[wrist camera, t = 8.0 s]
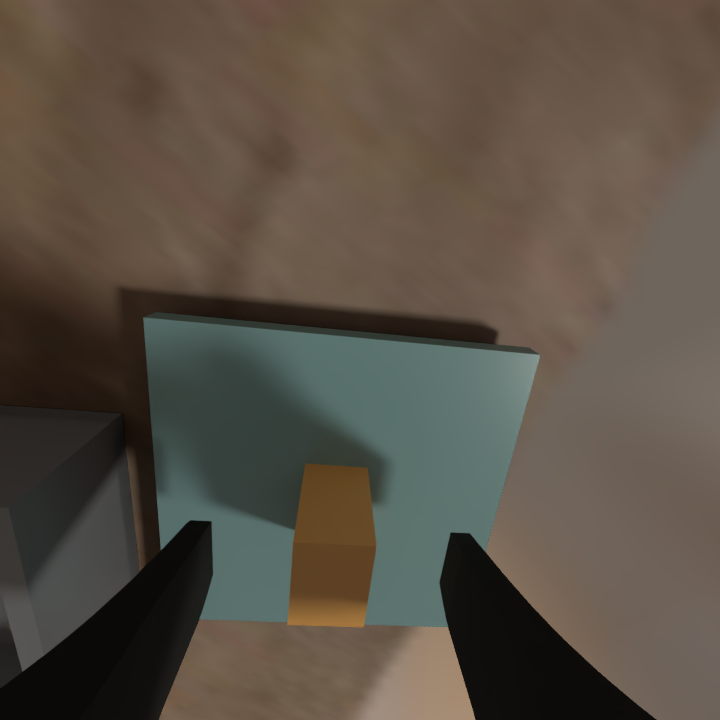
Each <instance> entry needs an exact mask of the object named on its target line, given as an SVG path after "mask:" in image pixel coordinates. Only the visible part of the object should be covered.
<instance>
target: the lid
mask: <svg viewBox="0 0 720 720" xmlns="http://www.w3.org/2000/svg"><path fill="white" fill-rule="evenodd" d="M143 321H144V334H145V348H146V361H147V374H148V387H149V400H150V414H151V427H152V440H153V453H154V466H155V480H156V493H157V506H158V519H159V532H160V546H161V550H162V549H163V548H164V547H165V546H166V544H167V543H168V542H169V541H170V540H171V539H172V538H173V537H174V536H175V535H176V534H177V533H178V532H179V531H180V530H181V529H182V527H183V526H184V525H185V524H186V523H187V522H189V521H190V520H197V521H212V552H213V577H212V580H211V584H210V587H209V591H208V594H207V597H206V601H205V604H204V607H203V611H202V614H201V616H200V619H207V620H238V621H270V622H288V625H308V626H340V627H364V625H396V626H427V627H448V624H447V621H446V616H445V611H444V606H443V601H442V595H441V590H440V584H439V581H440V577H441V573H442V568H443V564H444V559H445V555H446V550H447V546H448V542H449V537H450V533H451V532H454V533H470V534H471V535H472V536H473V538H474V539H475V540H476V541H477V542H478V544H479V545H480V546H481V547H482V549H483V550H484V551H485V552H486V548H487V545H488V541H489V537H490V534H491V530H492V527H493V523H494V519H495V516H496V512H497V509H498V505H499V501H500V498H501V494H502V491H503V487H504V484H505V480H506V476H507V473H508V469H509V466H510V462H511V458H512V455H513V451H514V448H515V444H516V440H517V437H518V433H519V430H520V426H521V422H522V419H523V415H524V412H525V408H526V404H527V401H528V397H529V394H530V390H531V387H532V383H533V379H534V376H535V372H536V369H537V365H538V361H539V358H540V354H538V353H536V352H535V351H533V350H532V349H530V348H527V347H516V346H506V345H496V344H485V343H475V342H464V341H454V340H443V339H433V338H422V337H412V336H401V335H391V334H380V333H370V332H360V331H349V330H339V329H328V328H318V327H307V326H297V325H286V324H276V323H265V322H255V321H245V320H234V319H224V318H213V317H203V316H192V315H182V314H171V313H161V312H155V313H152V314H150V315H148V316H145V317H143Z"/></svg>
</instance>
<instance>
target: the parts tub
mask: <svg viewBox="0 0 720 720" xmlns="http://www.w3.org/2000/svg"><path fill="white" fill-rule="evenodd" d="M139 572H140V571H139V562H138V553H137V544H136V535H135V526H134V517H133V508H132V499H131V490H130V481H129V472H128V463H127V454H126V445H125V436H124V427H123V418H122V413H109V412H94V411H79V410H64V409H50V408H35V407H20V406H5V405H0V688H1V687H2V686H4V685H5V684H7V683H8V682H9V681H11V680H12V679H13V678H15V677H16V676H17V675H19V674H20V673H21V672H23V671H24V670H25V669H27V668H28V667H29V666H31V665H32V664H33V663H35V662H36V661H37V660H38V659H40V658H41V657H42V656H44V655H45V654H46V653H48V652H49V651H50V650H51V649H53V648H54V647H55V646H56V645H58V644H59V643H60V642H61V641H63V640H64V639H65V638H66V637H68V636H69V635H70V634H71V633H72V632H74V631H75V630H76V629H77V628H78V627H80V626H81V625H82V624H83V623H84V622H85V621H87V620H88V619H89V618H90V617H91V616H92V615H94V614H95V613H96V612H97V611H98V610H99V609H100V608H101V607H102V606H104V605H105V604H106V603H107V602H108V601H109V600H110V599H111V598H112V597H113V596H114V595H116V594H117V593H118V592H119V591H120V590H121V589H122V588H123V587H124V586H125V585H126V584H127V583H129V582H130V581H131V580H132V579H133V578H134V577H135V576H136V575H137V574H138V573H139Z"/></svg>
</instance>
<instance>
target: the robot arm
mask: <svg viewBox="0 0 720 720" xmlns="http://www.w3.org/2000/svg"><path fill="white" fill-rule="evenodd" d="M212 577H213V552H212V521H197V520H190V521H189V522H187V523H186V524H185V525H184V526H183V527H182V529H181V530H180V531H179V532H178V533H177V534H176V535H175V536H174V537H173V538H172V539H171V540H170V541H169V542H168V543H167V544H166V546H165V547H164V548H163V549H162V550H161V551H160V552H159V553H158V554H157V555H156V556H155V557H154V558H153V559H152V560H151V561H150V562H149V563H148V564H147V565H146V566H145V567H144V568H143V569H142V570H141V571H140V572H139V573H138V574H137V575H136V576H135V577H134V578H133V579H132V580H131V581H130V582H129V583H127V584H126V585H125V586H124V587H123V588H122V589H121V590H120V591H119V592H118V593H117V594H116V595H114V596H113V597H112V598H111V599H110V600H109V601H108V602H107V603H106V604H105V605H104V606H102V607H101V608H100V609H99V610H98V611H97V612H96V613H95V614H94V615H92V616H91V617H90V618H89V619H88V620H87V621H85V622H84V623H83V624H82V625H81V626H80V627H78V628H77V629H76V630H75V631H74V632H72V633H71V634H70V635H69V636H68V637H66V638H65V639H64V640H63V641H61V642H60V643H59V644H58V645H56V646H55V647H54V648H53V649H51V650H50V651H49V652H48V653H46V654H45V655H44V656H42V657H41V658H40V659H38V660H37V661H36V662H35V663H33V664H32V665H31V666H29V667H28V668H27V669H25V670H24V671H23V672H21V673H20V674H19V675H17V676H16V677H15V678H13V679H12V680H11V681H9V682H8V683H7V684H5V685H4V686H2V687H1V688H0V720H159V717H160V715H161V712H162V709H163V707H164V704H165V702H166V699H167V697H168V694H169V692H170V690H171V687H172V685H173V682H174V680H175V677H176V675H177V673H178V670H179V668H180V665H181V663H182V660H183V658H184V656H185V653H186V651H187V648H188V646H189V643H190V641H191V638H192V636H193V633H194V631H195V629H196V626H197V624H198V621H199V619H200V616H201V614H202V611H203V607H204V604H205V601H206V597H207V594H208V591H209V587H210V584H211V580H212ZM439 584H440V590H441V595H442V601H443V606H444V611H445V616H446V621H447V624H448V628H449V631H450V635H451V638H452V642H453V645H454V648H455V652H456V655H457V658H458V662H459V665H460V668H461V672H462V675H463V678H464V681H465V685H466V688H467V692H468V695H469V698H470V701H471V705H472V708H473V711H474V716H475V719H476V720H656V719H655V718H653V717H652V716H651V715H650V714H648V713H647V712H646V711H645V710H643V709H642V708H641V707H639V706H638V705H637V704H636V703H635V702H634V701H632V700H631V699H630V698H629V697H628V696H626V695H625V694H624V693H623V692H622V691H620V690H619V689H618V688H617V687H616V686H615V685H613V684H612V683H611V682H610V681H609V680H607V679H606V678H605V677H604V676H603V675H602V674H601V673H599V672H598V671H597V670H596V669H595V668H594V667H593V666H592V665H591V664H589V663H588V662H587V661H586V660H585V659H584V658H583V657H582V656H581V655H580V654H579V653H578V652H577V651H576V650H574V649H573V648H572V647H571V646H570V645H569V644H568V643H567V642H566V641H565V640H564V639H563V638H562V637H561V636H560V635H559V634H558V633H557V632H556V631H555V630H554V629H553V628H552V627H551V626H550V625H549V624H548V623H547V622H546V621H545V620H544V619H543V618H542V616H541V615H540V614H539V613H538V612H537V611H536V610H535V609H534V608H533V607H532V606H531V605H530V604H529V603H528V601H527V600H526V599H525V598H524V597H523V596H522V595H521V594H520V592H519V591H518V590H517V589H516V588H515V587H514V586H513V585H512V583H511V582H510V581H509V580H508V579H507V577H506V576H505V575H504V574H503V573H502V572H501V571H500V569H499V568H498V567H497V566H496V564H495V563H494V562H493V561H492V560H491V558H490V557H489V556H488V555H487V553H486V552H485V551H484V550H483V549H482V547H481V546H480V545H479V544H478V542H477V541H476V540H475V539H474V538H473V536H472V535H471V534H470V533H454V532H451V533H450V537H449V542H448V546H447V550H446V555H445V559H444V564H443V568H442V573H441V577H440V581H439Z"/></svg>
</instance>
